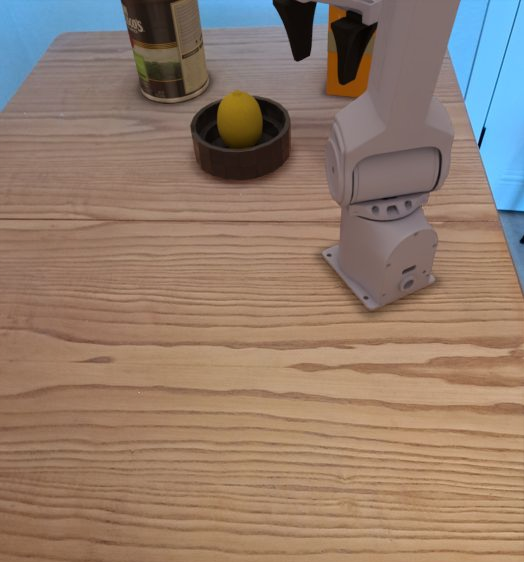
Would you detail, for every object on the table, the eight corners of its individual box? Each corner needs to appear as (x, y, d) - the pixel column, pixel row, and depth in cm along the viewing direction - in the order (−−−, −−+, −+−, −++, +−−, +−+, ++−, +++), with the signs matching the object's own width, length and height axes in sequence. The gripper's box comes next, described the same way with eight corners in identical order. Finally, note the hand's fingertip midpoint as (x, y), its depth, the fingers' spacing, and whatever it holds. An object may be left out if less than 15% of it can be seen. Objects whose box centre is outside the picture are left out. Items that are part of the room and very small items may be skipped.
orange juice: (325, 94, 81) (329, -74, 65) (338, 63, 86) (346, -100, 70) (380, 100, 79) (399, -72, 63) (391, 68, 84) (410, -99, 68)
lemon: (266, 138, 74) (262, 78, 68) (262, 164, 71) (257, 103, 65) (224, 138, 75) (216, 78, 69) (218, 164, 72) (209, 103, 65)
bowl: (308, 163, 72) (308, 130, 68) (220, 195, 69) (215, 163, 65) (263, 117, 78) (261, 85, 75) (181, 145, 76) (175, 113, 72)
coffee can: (153, 111, 81) (129, 3, 70) (132, 78, 87) (106, -26, 76) (220, 91, 83) (207, -17, 72) (195, 61, 89) (179, -44, 78)
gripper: (249, -74, 58) (258, 60, 69) (351, -38, 51) (343, 106, 62) (301, -93, 61) (301, 39, 71) (405, -61, 53) (388, 81, 64)
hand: (324, 69), depth 67 cm, fingers open, 7 cm apart
